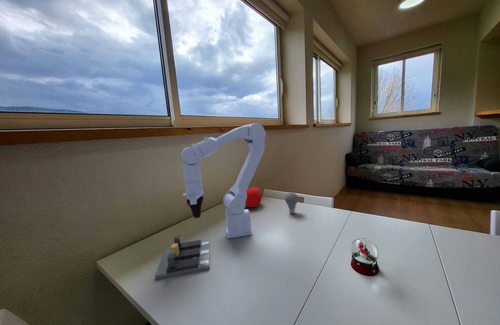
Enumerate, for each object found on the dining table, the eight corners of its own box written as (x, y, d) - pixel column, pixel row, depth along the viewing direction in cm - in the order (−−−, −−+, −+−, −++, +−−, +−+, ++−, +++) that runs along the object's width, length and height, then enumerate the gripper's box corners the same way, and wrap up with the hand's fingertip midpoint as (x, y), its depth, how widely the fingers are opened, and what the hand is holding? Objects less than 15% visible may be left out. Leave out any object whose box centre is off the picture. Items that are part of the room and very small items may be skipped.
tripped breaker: (179, 252, 65) (178, 243, 64) (178, 256, 63) (176, 246, 62) (173, 253, 65) (172, 244, 64) (172, 257, 62) (170, 247, 62)
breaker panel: (209, 242, 73) (208, 229, 72) (209, 269, 59) (207, 252, 58) (166, 250, 70) (164, 236, 70) (155, 279, 56) (152, 262, 55)
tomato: (239, 210, 103) (237, 190, 101) (244, 202, 115) (242, 184, 113) (261, 210, 101) (259, 190, 100) (263, 201, 113) (262, 183, 111)
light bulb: (298, 215, 91) (297, 194, 89) (285, 215, 92) (284, 194, 91) (298, 210, 97) (297, 190, 95) (285, 210, 98) (284, 191, 96)
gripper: (184, 178, 77) (188, 211, 79) (178, 187, 63) (183, 227, 65) (202, 176, 78) (206, 208, 80) (201, 184, 64) (205, 224, 66)
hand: (197, 217), depth 73 cm, fingers closed
